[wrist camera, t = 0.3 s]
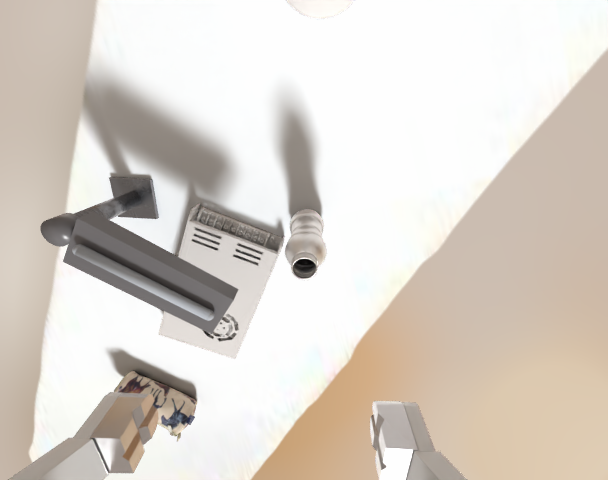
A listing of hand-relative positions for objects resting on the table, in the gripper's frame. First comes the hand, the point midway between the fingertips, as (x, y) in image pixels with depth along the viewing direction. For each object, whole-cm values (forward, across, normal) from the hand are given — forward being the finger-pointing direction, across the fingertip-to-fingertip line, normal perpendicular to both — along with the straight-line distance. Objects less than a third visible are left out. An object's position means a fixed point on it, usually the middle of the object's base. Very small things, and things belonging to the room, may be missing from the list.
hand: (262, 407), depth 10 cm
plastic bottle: (+48, -1, +9) cm, 49 cm away
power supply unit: (+48, +19, +24) cm, 57 cm away
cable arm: (+31, +24, +11) cm, 41 cm away
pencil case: (+48, +39, +60) cm, 86 cm away
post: (+48, +34, +5) cm, 59 cm away
